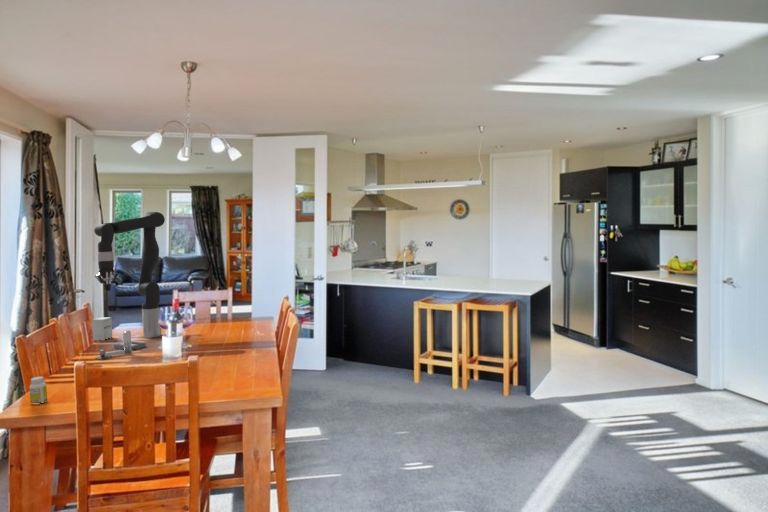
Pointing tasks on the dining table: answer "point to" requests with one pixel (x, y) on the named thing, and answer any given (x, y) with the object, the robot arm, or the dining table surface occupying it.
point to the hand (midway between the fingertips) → (107, 290)
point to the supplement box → (102, 328)
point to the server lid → (133, 345)
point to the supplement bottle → (38, 390)
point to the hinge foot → (103, 357)
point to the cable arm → (126, 350)
